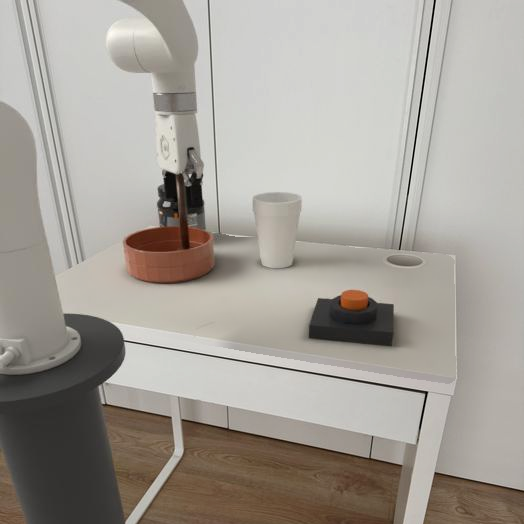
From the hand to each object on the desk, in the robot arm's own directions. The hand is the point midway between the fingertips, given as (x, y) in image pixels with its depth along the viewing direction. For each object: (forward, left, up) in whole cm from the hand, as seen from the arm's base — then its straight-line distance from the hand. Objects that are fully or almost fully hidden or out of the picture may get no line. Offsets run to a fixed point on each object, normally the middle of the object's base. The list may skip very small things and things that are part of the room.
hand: (183, 202), depth 100 cm
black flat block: (-23, -35, -12) cm, 43 cm away
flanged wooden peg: (0, 0, -10) cm, 10 cm away
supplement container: (+14, +6, -12) cm, 20 cm away
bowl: (-4, +2, -12) cm, 13 cm away
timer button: (-23, -35, -9) cm, 42 cm away
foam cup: (+3, -18, -12) cm, 22 cm away
